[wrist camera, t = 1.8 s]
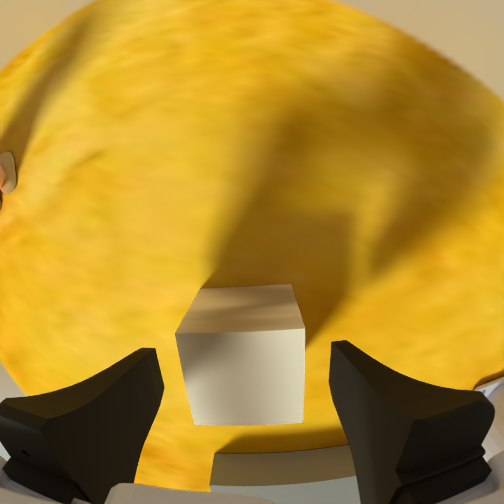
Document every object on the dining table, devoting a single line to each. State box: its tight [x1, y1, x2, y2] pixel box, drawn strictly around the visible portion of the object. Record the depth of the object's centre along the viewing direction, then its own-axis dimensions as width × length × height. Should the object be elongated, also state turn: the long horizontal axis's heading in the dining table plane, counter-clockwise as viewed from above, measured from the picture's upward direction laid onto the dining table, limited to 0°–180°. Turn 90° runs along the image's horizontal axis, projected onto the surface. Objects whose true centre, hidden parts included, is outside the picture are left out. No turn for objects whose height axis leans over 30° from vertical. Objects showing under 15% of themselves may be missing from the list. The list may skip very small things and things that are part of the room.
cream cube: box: [175, 284, 305, 426], centre depth 13 cm, size 4×4×5 cm
